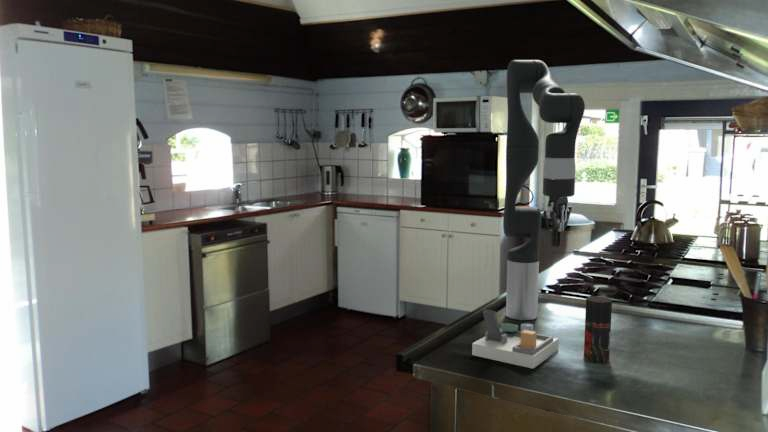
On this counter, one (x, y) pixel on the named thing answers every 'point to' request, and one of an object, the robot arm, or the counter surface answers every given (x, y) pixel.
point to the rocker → (509, 327)
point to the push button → (526, 327)
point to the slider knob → (528, 339)
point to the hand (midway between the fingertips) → (556, 245)
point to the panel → (515, 349)
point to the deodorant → (597, 329)
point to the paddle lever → (492, 325)
